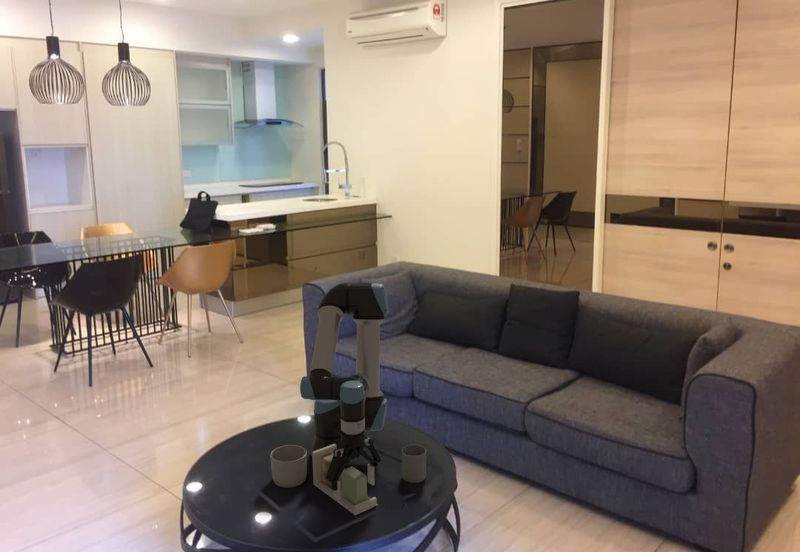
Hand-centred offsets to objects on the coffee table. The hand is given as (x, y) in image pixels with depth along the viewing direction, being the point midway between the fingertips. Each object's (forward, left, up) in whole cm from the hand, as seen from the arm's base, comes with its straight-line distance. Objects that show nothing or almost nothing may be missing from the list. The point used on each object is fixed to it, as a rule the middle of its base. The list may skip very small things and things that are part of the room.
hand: (354, 490), depth 212 cm
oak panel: (-12, 0, -4) cm, 13 cm away
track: (-6, 0, -5) cm, 7 cm away
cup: (0, +26, -5) cm, 26 cm away
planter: (-26, -9, -5) cm, 28 cm away
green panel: (0, 0, -4) cm, 4 cm away
